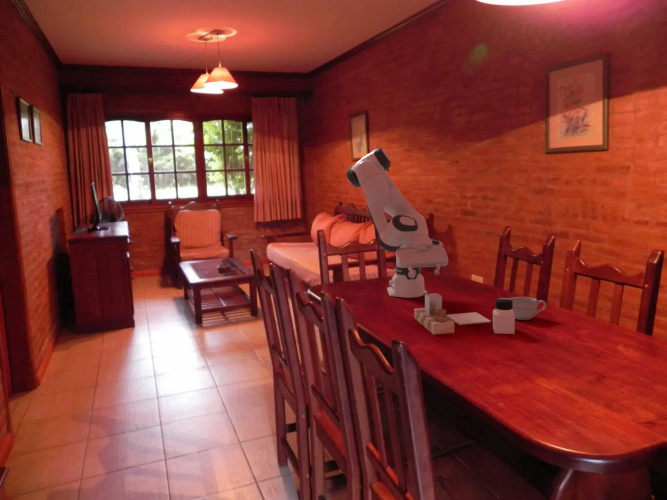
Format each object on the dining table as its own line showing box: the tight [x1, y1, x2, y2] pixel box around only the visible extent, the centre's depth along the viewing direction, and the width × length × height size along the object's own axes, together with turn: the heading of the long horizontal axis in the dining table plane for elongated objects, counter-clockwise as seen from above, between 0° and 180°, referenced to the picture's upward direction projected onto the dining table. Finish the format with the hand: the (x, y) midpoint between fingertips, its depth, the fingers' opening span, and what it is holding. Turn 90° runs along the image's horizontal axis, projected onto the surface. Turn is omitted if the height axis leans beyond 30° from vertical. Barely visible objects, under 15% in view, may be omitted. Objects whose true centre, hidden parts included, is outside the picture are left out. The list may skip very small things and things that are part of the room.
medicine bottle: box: [492, 297, 516, 335], centre depth 196 cm, size 7×7×12 cm
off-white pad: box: [446, 311, 491, 326], centre depth 214 cm, size 13×13×1 cm
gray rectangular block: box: [424, 292, 443, 317], centre depth 206 cm, size 5×5×8 cm
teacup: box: [508, 296, 547, 321], centre depth 211 cm, size 14×11×8 cm
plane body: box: [413, 307, 455, 335], centre depth 207 cm, size 22×8×8 cm, turn 10°
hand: (425, 274), depth 216 cm, fingers open, 8 cm apart
